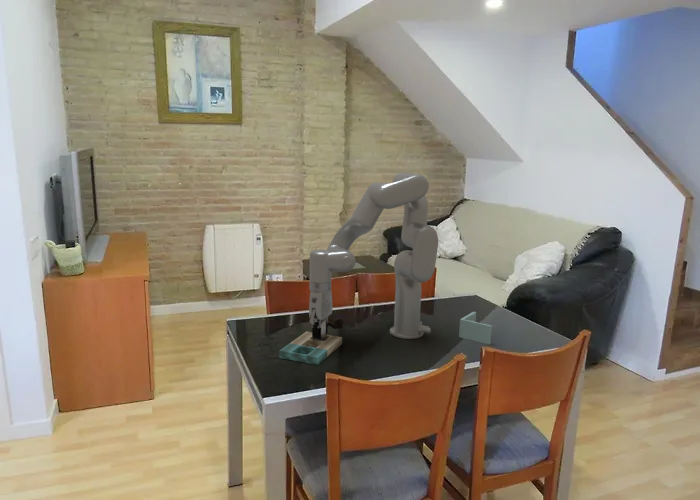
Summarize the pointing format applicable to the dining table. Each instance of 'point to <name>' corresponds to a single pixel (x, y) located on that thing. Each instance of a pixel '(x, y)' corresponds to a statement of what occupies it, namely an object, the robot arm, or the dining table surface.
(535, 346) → the dining table surface
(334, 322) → the hand tool
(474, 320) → the right angle wall
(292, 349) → the hole board
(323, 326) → the peg
